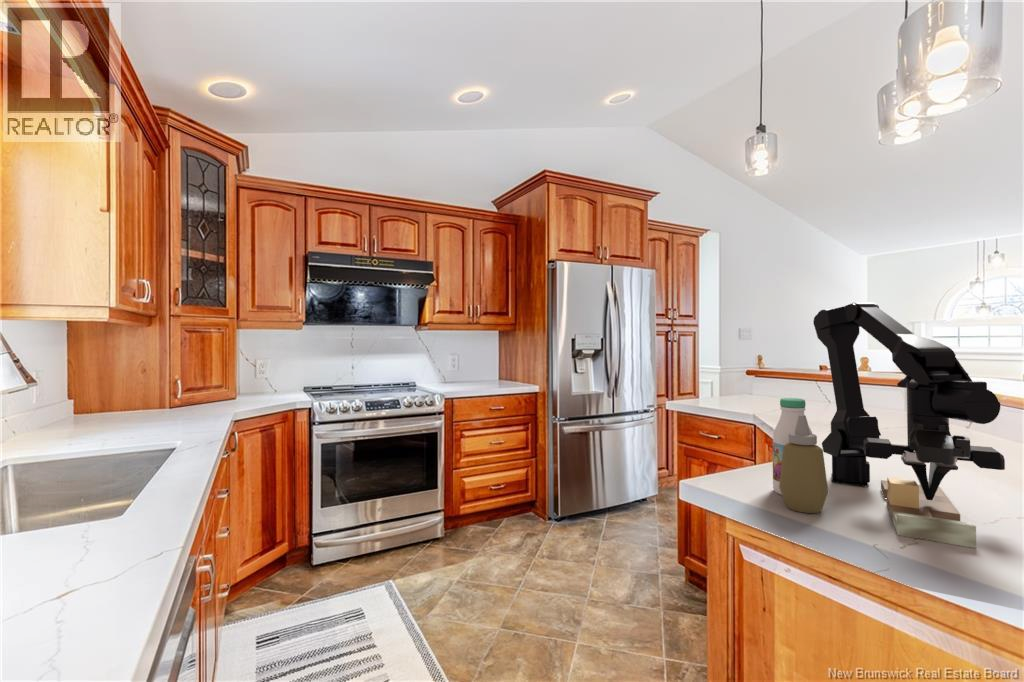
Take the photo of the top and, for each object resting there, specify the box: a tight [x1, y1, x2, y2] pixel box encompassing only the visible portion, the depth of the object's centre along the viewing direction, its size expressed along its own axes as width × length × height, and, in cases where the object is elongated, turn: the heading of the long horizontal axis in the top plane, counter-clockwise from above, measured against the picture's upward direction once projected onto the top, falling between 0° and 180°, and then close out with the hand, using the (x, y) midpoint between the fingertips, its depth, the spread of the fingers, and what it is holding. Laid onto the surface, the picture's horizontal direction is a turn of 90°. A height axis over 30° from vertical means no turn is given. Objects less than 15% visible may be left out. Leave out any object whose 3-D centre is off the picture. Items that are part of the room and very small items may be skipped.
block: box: [886, 477, 919, 508], centre depth 87 cm, size 4×4×4 cm
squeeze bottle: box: [779, 414, 829, 514], centre depth 91 cm, size 8×8×18 cm
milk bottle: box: [772, 397, 813, 496], centre depth 99 cm, size 8×8×20 cm
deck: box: [880, 479, 977, 549], centre depth 87 cm, size 10×27×3 cm, turn 146°
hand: (929, 499), depth 86 cm, fingers closed
